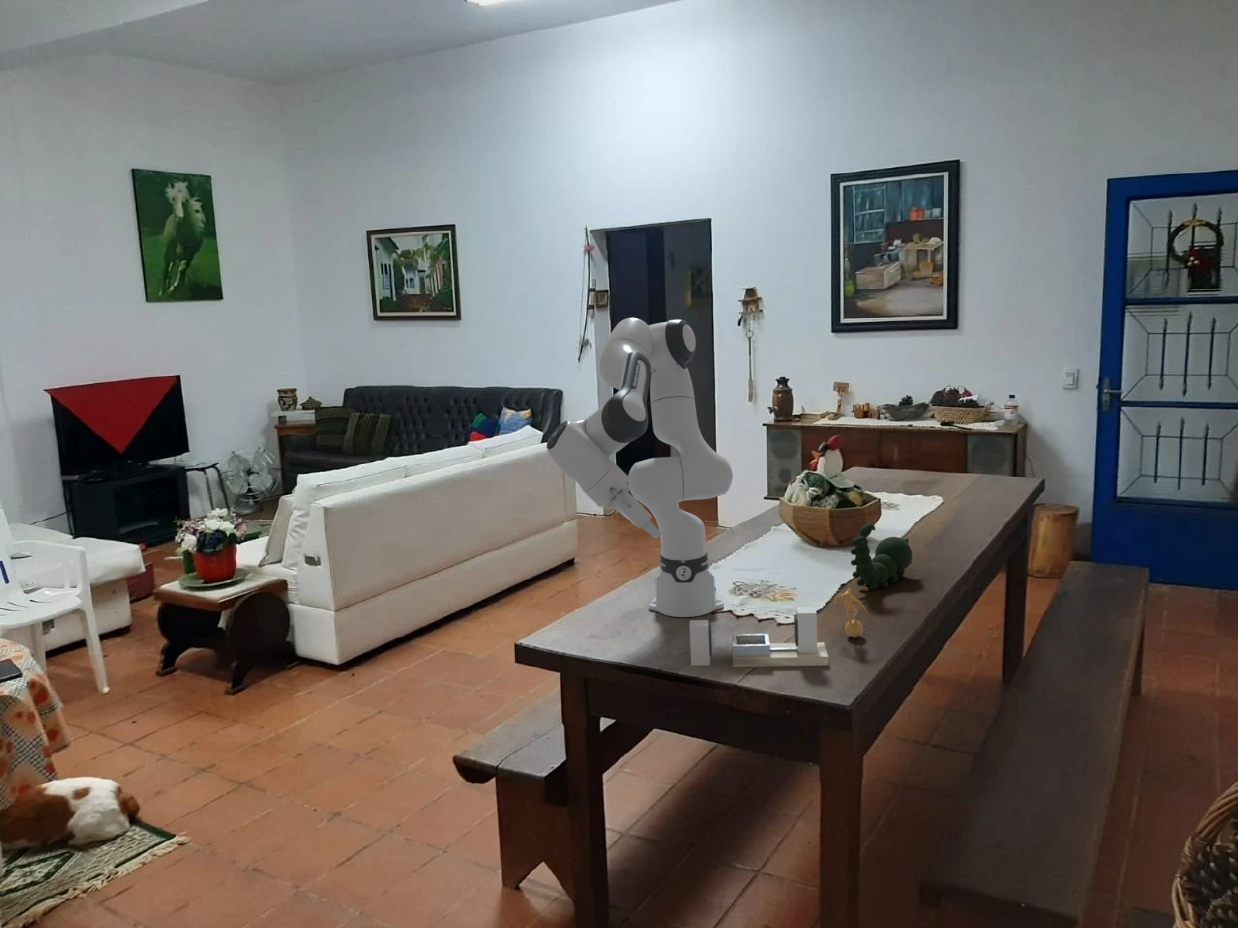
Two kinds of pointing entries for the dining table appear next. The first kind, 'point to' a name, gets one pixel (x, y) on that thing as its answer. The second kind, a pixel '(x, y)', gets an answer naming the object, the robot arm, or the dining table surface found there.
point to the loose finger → (700, 642)
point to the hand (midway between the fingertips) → (654, 532)
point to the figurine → (852, 626)
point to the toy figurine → (880, 559)
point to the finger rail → (782, 646)
